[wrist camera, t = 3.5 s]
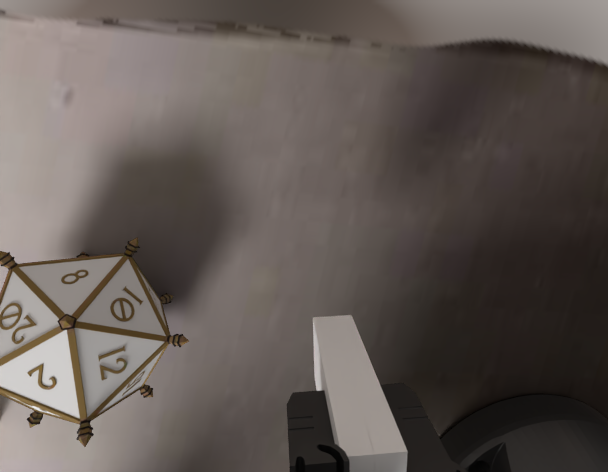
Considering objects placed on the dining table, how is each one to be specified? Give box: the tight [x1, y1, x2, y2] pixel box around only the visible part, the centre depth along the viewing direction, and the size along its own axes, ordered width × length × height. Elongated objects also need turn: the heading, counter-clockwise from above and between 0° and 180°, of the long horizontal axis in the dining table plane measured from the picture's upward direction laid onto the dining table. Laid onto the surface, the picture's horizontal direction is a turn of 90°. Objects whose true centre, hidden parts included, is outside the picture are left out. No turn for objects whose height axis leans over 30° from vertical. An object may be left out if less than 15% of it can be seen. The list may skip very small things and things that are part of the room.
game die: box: [0, 237, 189, 447], centre depth 18 cm, size 9×8×10 cm
